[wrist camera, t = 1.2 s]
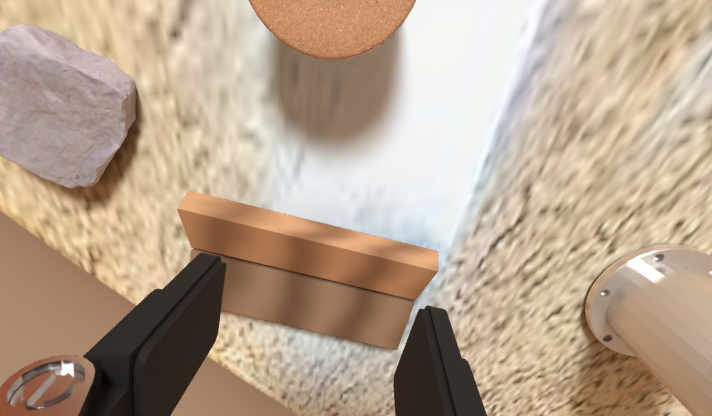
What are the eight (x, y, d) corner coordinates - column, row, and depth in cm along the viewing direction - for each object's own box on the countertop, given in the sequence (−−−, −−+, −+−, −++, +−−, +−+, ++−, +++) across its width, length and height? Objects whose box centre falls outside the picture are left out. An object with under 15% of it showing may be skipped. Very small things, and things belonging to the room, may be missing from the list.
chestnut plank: (438, 251, 29) (438, 271, 28) (416, 281, 34) (415, 300, 33) (188, 190, 29) (177, 208, 27) (200, 230, 33) (191, 247, 32)
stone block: (159, 79, 31) (31, 15, 27) (135, 87, 26) (-20, 12, 23) (125, 185, 35) (11, 140, 32) (99, 207, 31) (-36, 157, 27)
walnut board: (411, 291, 35) (414, 303, 33) (395, 336, 37) (396, 350, 35) (201, 241, 34) (191, 250, 32) (196, 290, 36) (187, 302, 34)
